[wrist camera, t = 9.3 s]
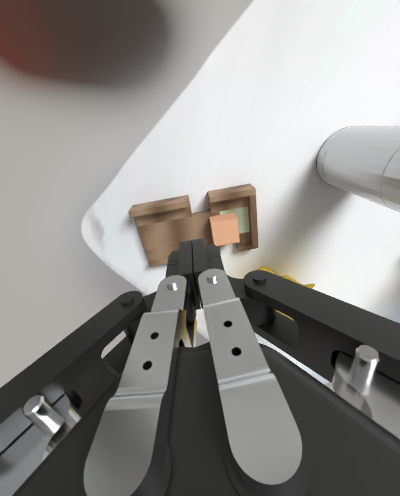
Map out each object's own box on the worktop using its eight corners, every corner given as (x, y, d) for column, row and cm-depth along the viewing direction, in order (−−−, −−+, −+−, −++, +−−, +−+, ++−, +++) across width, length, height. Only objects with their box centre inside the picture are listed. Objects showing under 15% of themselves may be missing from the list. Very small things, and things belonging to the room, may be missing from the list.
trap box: (249, 183, 39) (255, 188, 36) (253, 243, 44) (258, 252, 41) (133, 205, 39) (128, 211, 36) (151, 261, 45) (148, 271, 42)
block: (234, 212, 39) (237, 218, 37) (236, 234, 42) (239, 242, 39) (209, 216, 40) (210, 223, 37) (212, 239, 42) (214, 246, 39)
